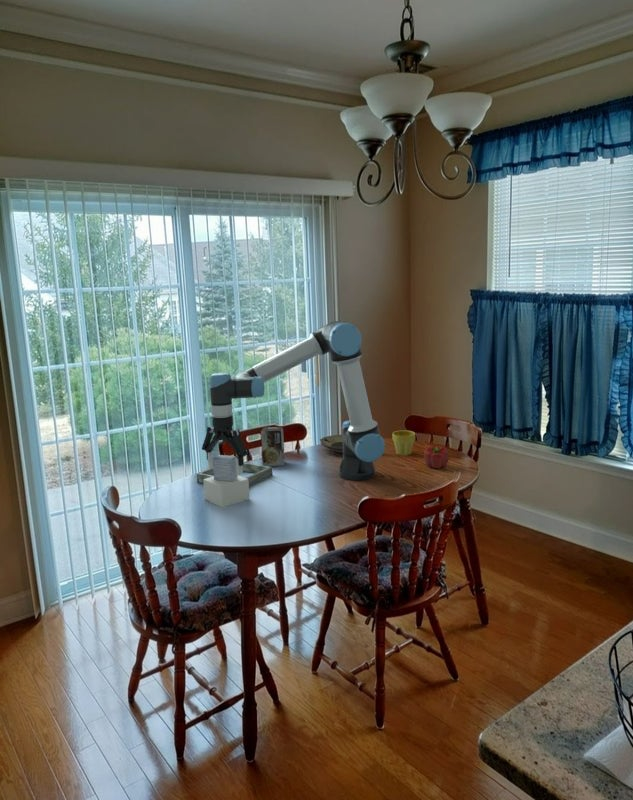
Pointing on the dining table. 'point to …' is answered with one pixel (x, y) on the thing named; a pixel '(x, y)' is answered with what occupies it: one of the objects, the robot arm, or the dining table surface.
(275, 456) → the coffee box
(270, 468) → the bowl tray frame
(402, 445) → the plant pot
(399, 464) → the dining table surface
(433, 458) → the vegetable
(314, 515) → the dining table surface
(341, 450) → the olive brown bowl
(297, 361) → the robot arm
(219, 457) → the medicine box
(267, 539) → the dining table surface
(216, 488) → the riser block
